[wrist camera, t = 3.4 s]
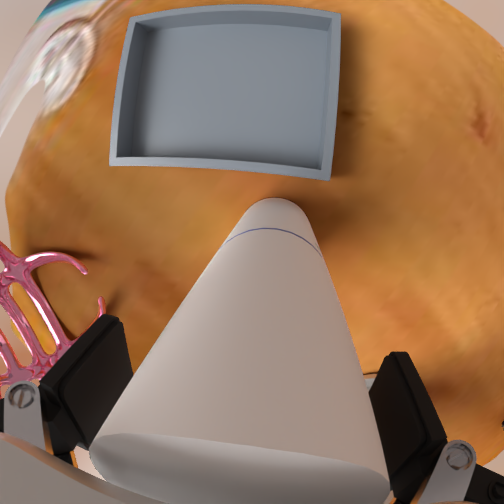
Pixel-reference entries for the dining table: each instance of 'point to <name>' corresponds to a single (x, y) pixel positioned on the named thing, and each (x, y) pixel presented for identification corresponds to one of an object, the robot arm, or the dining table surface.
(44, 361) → the spiral basket
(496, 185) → the dining table surface
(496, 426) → the dining table surface
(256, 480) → the cylindrical container
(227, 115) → the tray
